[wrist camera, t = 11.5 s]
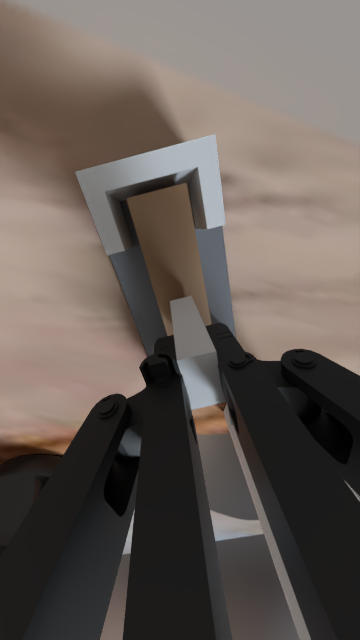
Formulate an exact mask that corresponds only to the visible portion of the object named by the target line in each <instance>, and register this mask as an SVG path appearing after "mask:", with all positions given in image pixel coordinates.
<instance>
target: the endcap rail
mask: <svg viewBox="0 0 360 640" xmlns="http://www.w3.org/2000/svg"><path fill="white" fill-rule="evenodd" d="M75 174H76V176H77V179H78V181H79V184H80V187H81V189H82V192H83V194H84V197H85V200H86V202H87V205H88V207H89V210H90V213H91V215H92V218H93V220H94V223H95V226H96V228H97V231H98V233H99V236H100V239H101V241H102V244H103V246H104V249H105V252H106V254H107V255H110V257H111V260H112V263H113V265H114V268H115V271H116V273H117V276H118V278H119V281H120V284H121V286H122V289H123V292H124V294H125V297H126V300H127V302H128V305H129V308H130V310H131V313H132V315H133V318H134V321H135V323H136V326H137V329H138V331H139V334H140V337H141V339H142V342H143V345H144V347H145V350H146V352H147V355H148V357H149V356H150V355H152V354H153V352H154V344H155V342H156V341H157V339H158V338H162V337H166V336H167V332H166V329H165V326H164V322H163V319H162V316H161V312H160V309H159V306H158V302H157V299H156V296H155V292H154V289H153V286H152V282H151V279H150V276H149V272H148V269H147V266H146V262H145V259H144V256H143V252H142V249H141V246H140V242H139V239H138V236H137V233H136V229H135V226H134V223H133V219H132V216H131V213H130V209H129V206H128V203H127V199H126V198H129V197H133V196H137V195H141V194H145V193H149V192H152V191H156V190H160V189H164V188H168V187H172V186H175V185H179V184H183V183H187V188H188V194H189V199H190V205H191V210H192V216H193V222H194V227H195V233H196V239H197V244H198V250H199V256H200V261H201V267H202V273H203V278H204V284H205V290H206V295H207V301H208V307H209V312H210V318H211V324H216V323H220V322H221V323H223V324H225V325H227V326H228V328H229V329H230V331H231V332H232V334H233V336H234V337H235V338H236V335H235V327H234V319H233V311H232V303H231V294H230V286H229V278H228V270H227V262H226V253H225V245H224V237H223V229H222V225H226V223H225V215H224V206H223V197H222V188H221V180H220V171H219V162H218V153H217V145H216V136H215V134H213V135H210V136H206V137H202V138H198V139H195V140H191V141H187V142H184V143H180V144H176V145H172V146H169V147H165V148H161V149H158V150H154V151H150V152H146V153H143V154H139V155H135V156H131V157H128V158H124V159H120V160H117V161H113V162H109V163H105V164H102V165H98V166H94V167H91V168H87V169H83V170H79V171H76V172H75Z"/></svg>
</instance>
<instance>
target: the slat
mask: <svg viewBox="0 0 360 640" xmlns="http://www.w3.org/2000/svg"><path fill="white" fill-rule="evenodd" d="M126 199H127V203H128V206H129V209H130V213H131V216H132V219H133V223H134V226H135V229H136V233H137V236H138V239H139V242H140V246H141V249H142V252H143V256H144V259H145V262H146V266H147V269H148V272H149V276H150V279H151V282H152V286H153V289H154V292H155V296H156V299H157V302H158V306H159V309H160V312H161V316H162V319H163V322H164V326H165V329H166V332H167V336H170V335H174V333H173V324H172V316H171V307H170V301H172V300H176V299H180V298H184V297H188V296H192V298H193V301H194V303H195V305H196V307H197V310H198V312H199V314H200V316H201V318H202V321H203V323H204V325H205V326H208V325H212V324H211V318H210V312H209V307H208V301H207V295H206V290H205V284H204V278H203V273H202V267H201V261H200V256H199V250H198V244H197V239H196V233H195V227H194V222H193V216H192V210H191V205H190V199H189V194H188V188H187V183H183V184H179V185H175V186H172V187H168V188H164V189H160V190H156V191H152V192H149V193H145V194H141V195H137V196H133V197H129V198H126Z"/></svg>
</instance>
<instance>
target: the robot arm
mask: <svg viewBox="0 0 360 640" xmlns="http://www.w3.org/2000/svg"><path fill="white" fill-rule="evenodd" d="M170 307H171V316H172V324H173V333H174V335H170V336H166V337H162V338H158V339H157V341H156V342H155V344H154V352H153V354H152V355H150V356H149V357H147V358H146V359H145V360H144V361H143V362H142V363H141V365H140V367H139V368H140V371H141V373H142V375H143V378H144V380H145V383H146V388H145V389H143V390H142V391H141V392H139V393H137V394H136V395H134V396H132V397H130V398H128V399H126V397H124V396H123V395H122V394H113V395H109V396H107V397H105V398H103V399H102V400H100V401H99V402H98V403H97V404H96V405H95V406H94V407H93V409H92V410H91V411H90V413H89V415H88V416H87V418H86V420H85V421H84V423H83V424H82V426H81V428H80V429H79V431H78V432H77V434H76V436H75V437H74V439H73V441H72V442H71V444H70V445H69V447H68V449H67V450H66V452H65V453H64V455H63V457H60V456H54V455H27V456H22V457H17V458H14V459H11V460H9V461H7V462H5V463H3V464H2V465H1V466H0V640H100V636H101V633H102V629H103V625H104V621H105V618H106V614H107V610H108V606H109V603H110V598H111V595H112V591H113V587H114V584H115V580H116V576H117V572H118V568H119V565H120V561H121V557H122V553H123V550H124V546H125V542H126V538H127V534H128V531H129V527H130V523H131V519H132V515H133V512H134V508H135V513H134V523H133V534H132V545H131V557H130V567H129V578H128V588H127V600H126V611H125V621H124V632H123V640H232V635H231V629H230V624H229V618H228V612H227V607H226V601H225V595H224V589H223V583H222V578H221V572H220V566H219V561H218V555H217V549H216V543H215V537H214V532H213V526H212V520H211V515H210V509H209V503H208V497H207V492H206V486H205V480H204V474H203V469H202V463H201V458H200V451H199V446H198V441H197V434H196V428H195V423H194V419H193V416H192V411H191V410H194V409H198V408H202V407H206V406H210V405H214V404H219V403H223V402H225V399H226V402H227V405H228V411H229V416H230V422H231V425H233V426H234V429H235V431H236V434H237V437H238V440H239V442H240V445H241V448H242V451H243V453H244V456H245V459H246V462H247V464H248V467H249V470H250V473H251V475H252V478H253V481H254V484H255V486H256V489H257V492H258V495H259V497H260V500H261V503H262V506H263V508H264V511H265V514H266V517H267V520H268V522H269V525H270V528H271V531H272V533H273V536H274V539H275V542H276V544H277V547H278V550H279V553H280V555H281V558H282V561H283V564H284V566H285V569H286V572H287V575H288V577H289V580H290V583H291V586H292V588H293V591H294V594H295V597H296V599H297V602H298V605H299V608H300V610H301V613H302V616H303V619H304V621H305V624H306V627H307V630H308V632H309V635H310V638H311V640H360V501H359V500H358V499H357V497H356V496H355V494H354V493H353V492H352V490H351V489H350V488H349V486H348V485H347V483H348V484H349V485H350V487H351V488H353V489H354V491H355V492H356V493H357V494H358V495H359V496H360V376H359V375H357V374H355V373H353V372H352V371H350V370H348V369H346V368H344V367H342V366H340V365H339V364H337V363H335V362H333V361H331V360H329V359H328V358H326V357H324V356H322V355H320V354H318V353H316V352H313V351H310V350H305V349H293V350H290V351H287V352H285V353H284V354H283V355H282V357H281V361H261V360H257V359H256V358H255V357H254V356H253V355H252V354H250V353H247V352H245V351H244V350H243V349H242V347H241V346H240V344H239V343H238V341H237V340H236V338H235V337H234V336H233V334H232V332H231V331H230V329H229V328H228V326H227V325H225V324H223V323H221V322H220V323H216V324H212V325H208V326H205V325H204V323H203V321H202V318H201V316H200V314H199V312H198V310H197V307H196V305H195V303H194V301H193V298H192V296H188V297H184V298H180V299H176V300H172V301H170ZM344 480H345V481H346V482H347V483H346V482H345V481H344Z"/></svg>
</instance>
